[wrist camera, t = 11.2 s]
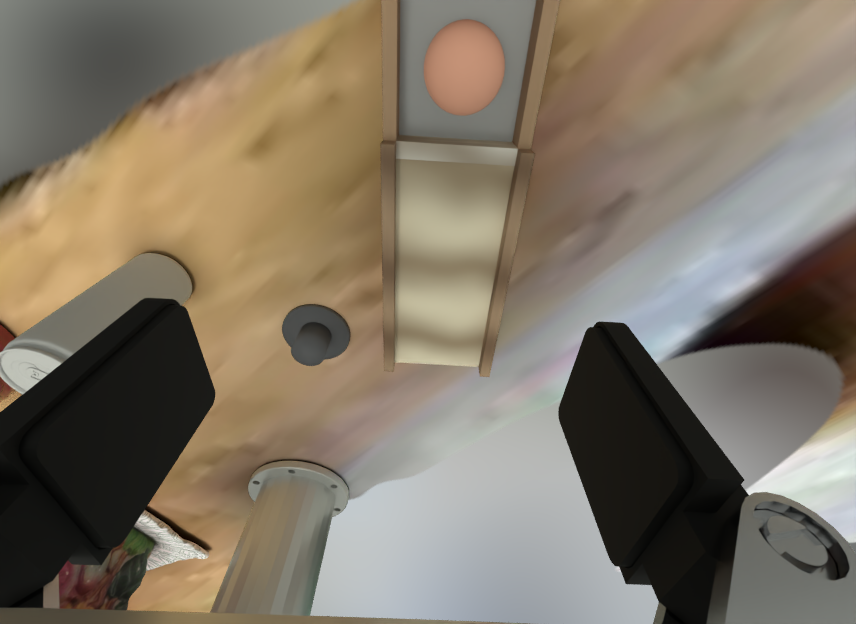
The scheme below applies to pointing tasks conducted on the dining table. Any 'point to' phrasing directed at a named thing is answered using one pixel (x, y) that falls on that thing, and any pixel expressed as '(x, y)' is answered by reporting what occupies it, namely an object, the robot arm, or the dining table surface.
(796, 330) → the dining table surface
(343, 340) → the tee
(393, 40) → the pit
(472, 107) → the ball
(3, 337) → the canister
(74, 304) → the beverage can
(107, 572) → the cookie jar
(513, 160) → the lane
